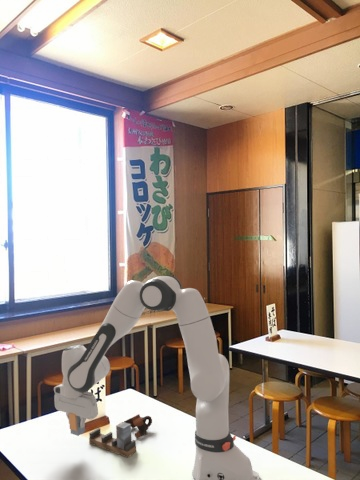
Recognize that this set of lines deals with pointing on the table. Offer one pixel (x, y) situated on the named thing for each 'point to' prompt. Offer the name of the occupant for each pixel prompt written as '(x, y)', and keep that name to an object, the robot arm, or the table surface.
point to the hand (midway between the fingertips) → (76, 425)
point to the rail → (115, 440)
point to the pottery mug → (139, 424)
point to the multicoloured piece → (75, 424)
